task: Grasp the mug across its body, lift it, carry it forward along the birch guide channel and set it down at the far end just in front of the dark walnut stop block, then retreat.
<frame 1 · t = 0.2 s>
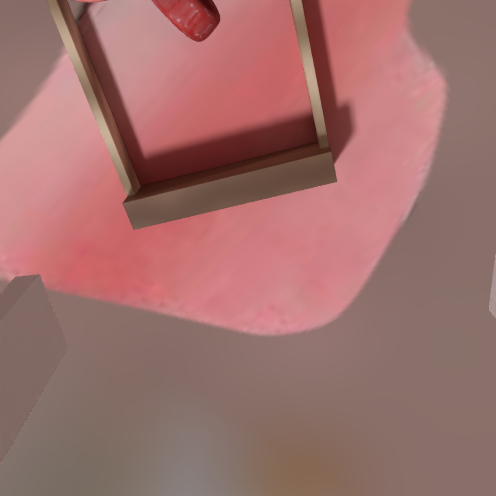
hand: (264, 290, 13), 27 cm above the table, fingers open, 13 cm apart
channel: (198, 69, 36), on the table
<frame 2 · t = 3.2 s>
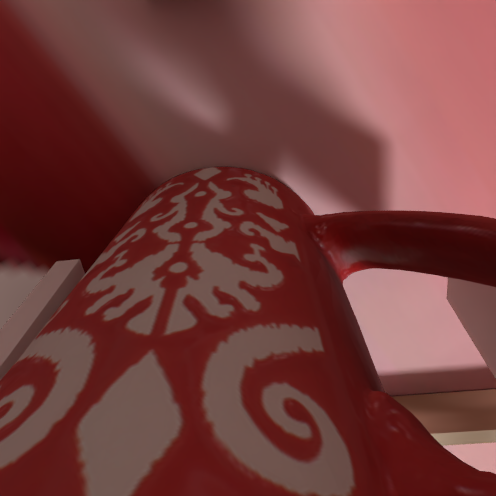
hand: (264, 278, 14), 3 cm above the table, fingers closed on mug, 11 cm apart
mug: (266, 238, 16), on the table, touching gripper
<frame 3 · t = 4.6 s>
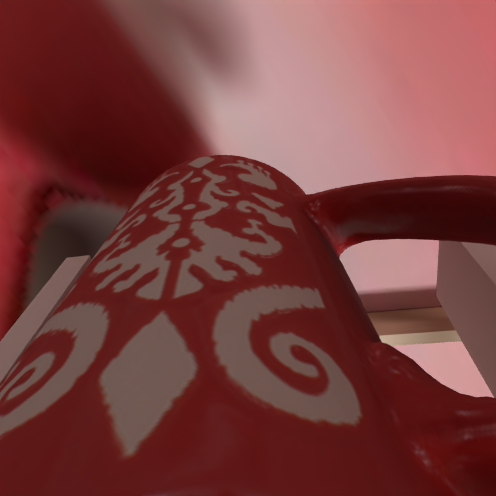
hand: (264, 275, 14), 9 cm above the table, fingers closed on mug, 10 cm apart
mug: (262, 224, 17), point 5 cm above the table, touching gripper
channel: (458, 161, 21), on the table
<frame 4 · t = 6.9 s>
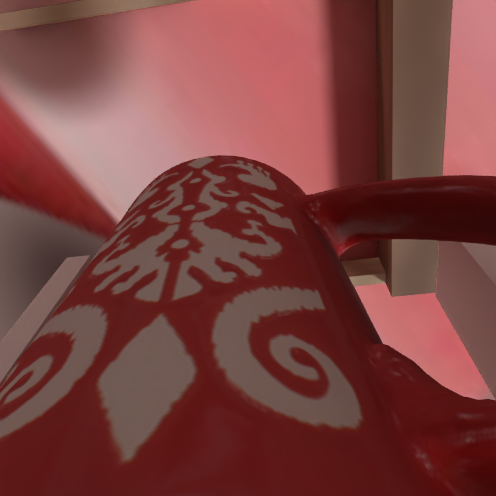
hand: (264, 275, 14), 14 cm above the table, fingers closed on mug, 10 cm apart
mug: (262, 224, 17), point 11 cm above the table, touching gripper
channel: (237, 152, 27), on the table
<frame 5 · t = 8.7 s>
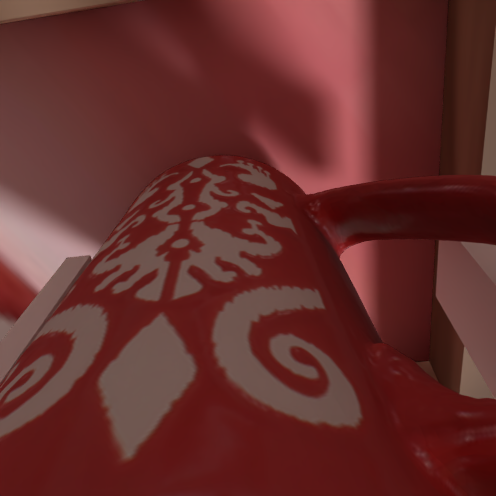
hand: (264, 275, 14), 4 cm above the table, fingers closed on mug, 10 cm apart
mug: (262, 224, 17), point 1 cm above the table, touching gripper
channel: (229, 222, 18), on the table
when the fingers open (4 cm above the table, at t = 9.5 s): mug drops 1 cm, on the table.
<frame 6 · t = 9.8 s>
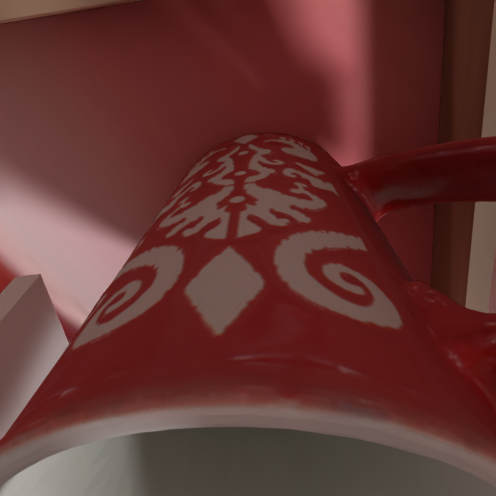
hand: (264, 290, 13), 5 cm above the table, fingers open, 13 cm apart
mug: (302, 199, 18), on the table
channel: (227, 221, 18), on the table
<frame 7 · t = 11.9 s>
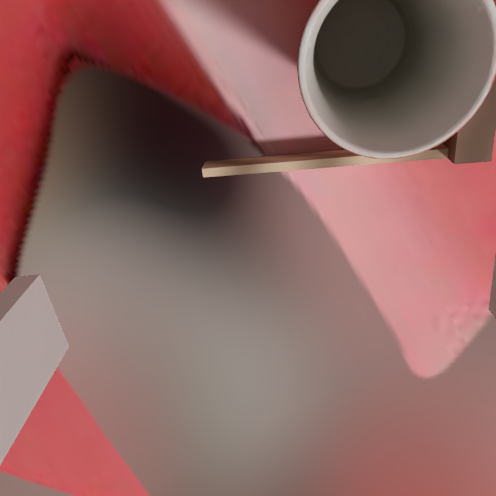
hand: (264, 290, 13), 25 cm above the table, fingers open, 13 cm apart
mug: (377, 26, 32), on the table
channel: (333, 40, 33), on the table
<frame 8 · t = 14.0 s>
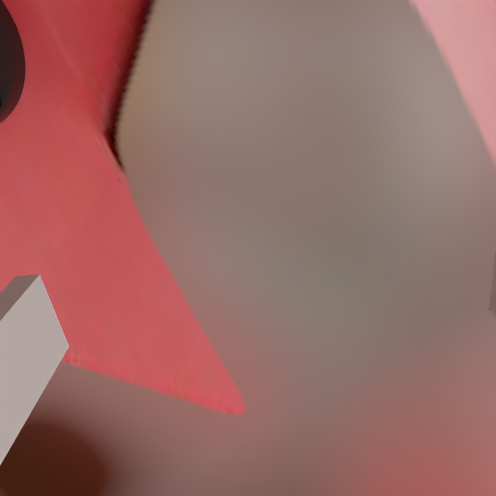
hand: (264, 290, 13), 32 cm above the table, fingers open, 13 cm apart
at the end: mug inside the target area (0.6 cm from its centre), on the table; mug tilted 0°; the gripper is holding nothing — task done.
